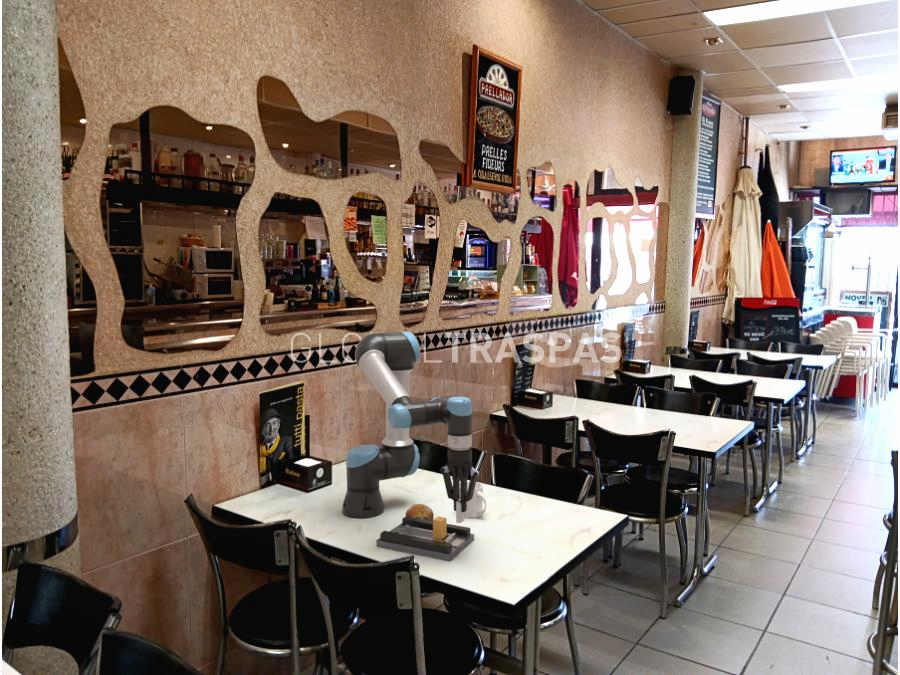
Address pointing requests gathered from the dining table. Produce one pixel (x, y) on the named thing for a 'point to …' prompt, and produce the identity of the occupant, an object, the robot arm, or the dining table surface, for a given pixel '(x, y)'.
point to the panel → (424, 551)
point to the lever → (440, 528)
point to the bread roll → (420, 512)
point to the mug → (475, 502)
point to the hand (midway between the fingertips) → (460, 521)
